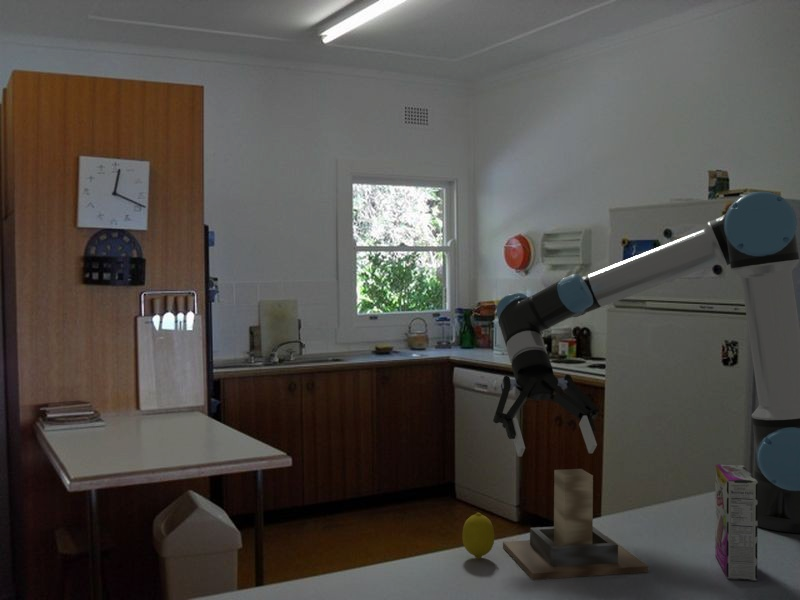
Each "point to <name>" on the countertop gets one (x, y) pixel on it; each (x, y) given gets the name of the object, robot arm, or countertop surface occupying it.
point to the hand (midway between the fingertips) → (557, 451)
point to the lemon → (478, 535)
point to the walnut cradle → (571, 556)
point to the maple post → (573, 507)
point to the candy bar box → (736, 521)
